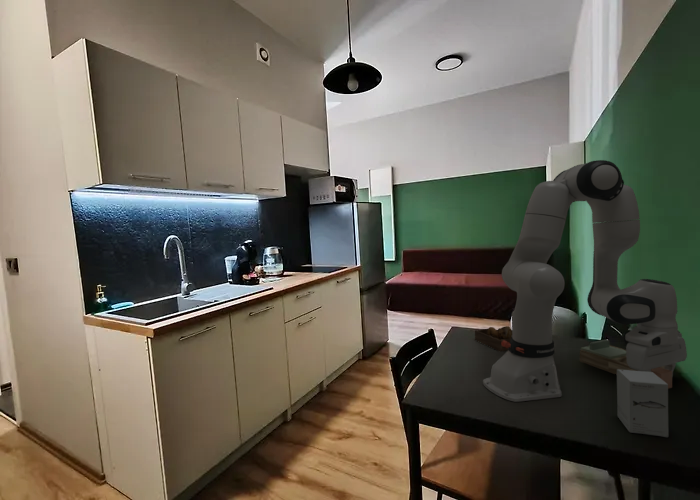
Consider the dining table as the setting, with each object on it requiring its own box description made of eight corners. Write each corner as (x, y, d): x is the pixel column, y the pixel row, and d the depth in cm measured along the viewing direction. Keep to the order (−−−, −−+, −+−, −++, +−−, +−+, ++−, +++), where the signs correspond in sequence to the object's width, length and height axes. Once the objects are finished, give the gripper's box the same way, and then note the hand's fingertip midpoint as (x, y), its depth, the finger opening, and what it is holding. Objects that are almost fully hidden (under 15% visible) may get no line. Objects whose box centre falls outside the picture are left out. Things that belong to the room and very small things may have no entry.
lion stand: (500, 351, 131) (499, 340, 131) (475, 340, 146) (474, 330, 146) (515, 348, 133) (515, 337, 133) (489, 337, 148) (489, 328, 148)
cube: (661, 390, 95) (661, 373, 95) (643, 384, 99) (643, 368, 99) (672, 387, 96) (671, 371, 96) (654, 381, 100) (653, 365, 100)
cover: (609, 359, 110) (609, 349, 109) (581, 349, 119) (580, 341, 119) (631, 354, 112) (630, 345, 112) (601, 345, 122) (601, 337, 122)
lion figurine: (516, 347, 134) (515, 326, 134) (507, 350, 132) (506, 328, 131) (487, 338, 147) (486, 319, 147) (478, 341, 145) (477, 321, 145)
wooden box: (639, 383, 100) (639, 370, 99) (579, 361, 118) (579, 350, 118) (670, 375, 103) (670, 362, 103) (608, 355, 122) (608, 344, 122)
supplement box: (629, 433, 77) (628, 380, 76) (616, 416, 84) (615, 368, 83) (670, 438, 74) (669, 384, 73) (653, 420, 81) (652, 370, 80)
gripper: (667, 326, 103) (668, 369, 103) (620, 335, 97) (622, 381, 98) (693, 331, 97) (694, 377, 97) (645, 342, 91) (646, 390, 92)
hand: (658, 379), depth 98 cm, fingers open, 7 cm apart
